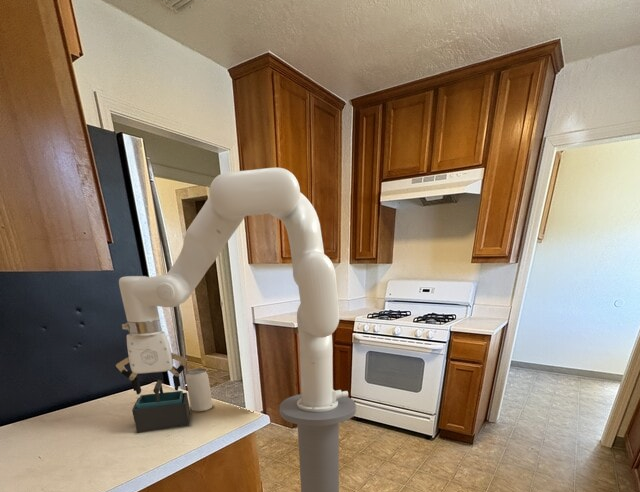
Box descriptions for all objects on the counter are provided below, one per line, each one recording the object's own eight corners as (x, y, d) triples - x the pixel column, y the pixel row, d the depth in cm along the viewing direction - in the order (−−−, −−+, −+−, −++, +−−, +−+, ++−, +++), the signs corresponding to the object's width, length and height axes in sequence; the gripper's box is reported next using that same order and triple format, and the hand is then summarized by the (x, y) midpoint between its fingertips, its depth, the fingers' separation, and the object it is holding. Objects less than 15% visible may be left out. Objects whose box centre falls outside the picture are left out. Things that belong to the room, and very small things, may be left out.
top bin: (186, 412, 106) (180, 377, 101) (185, 423, 98) (178, 386, 94) (145, 417, 103) (137, 382, 98) (141, 428, 95) (132, 390, 91)
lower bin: (190, 413, 107) (186, 392, 104) (189, 426, 98) (185, 403, 96) (143, 418, 103) (138, 397, 101) (137, 433, 95) (131, 410, 92)
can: (198, 413, 106) (191, 375, 102) (187, 408, 110) (180, 371, 106) (216, 407, 111) (211, 370, 106) (206, 403, 115) (200, 367, 110)
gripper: (103, 332, 85) (120, 399, 91) (180, 327, 89) (191, 391, 96) (110, 327, 91) (126, 390, 98) (181, 323, 96) (191, 383, 103)
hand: (158, 391), depth 97 cm, fingers open, 9 cm apart
